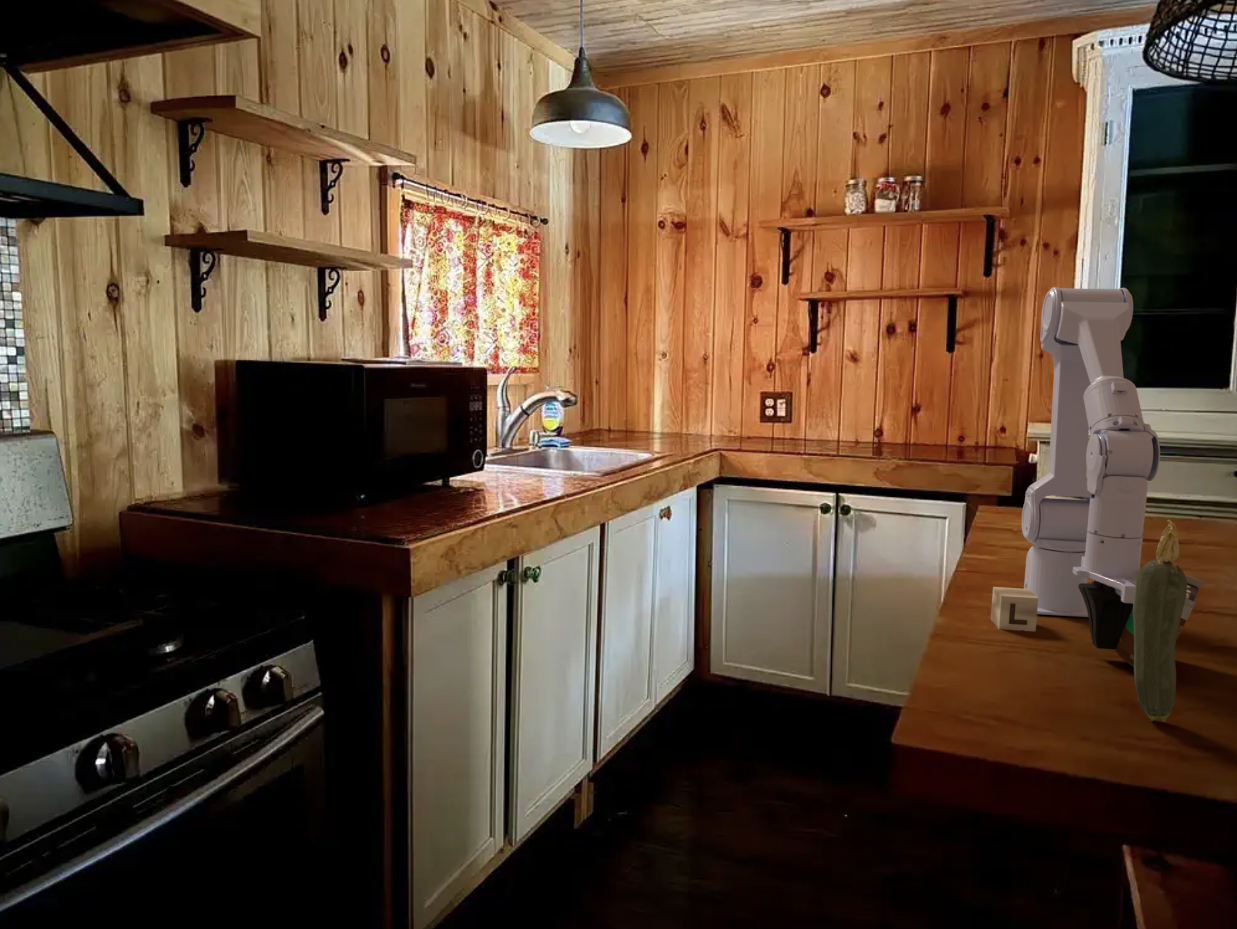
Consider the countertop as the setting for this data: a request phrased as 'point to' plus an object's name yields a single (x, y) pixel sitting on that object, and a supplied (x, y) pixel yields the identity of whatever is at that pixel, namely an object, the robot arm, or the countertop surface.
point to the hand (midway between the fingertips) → (1104, 646)
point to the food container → (1193, 586)
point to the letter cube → (1014, 609)
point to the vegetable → (1158, 626)
